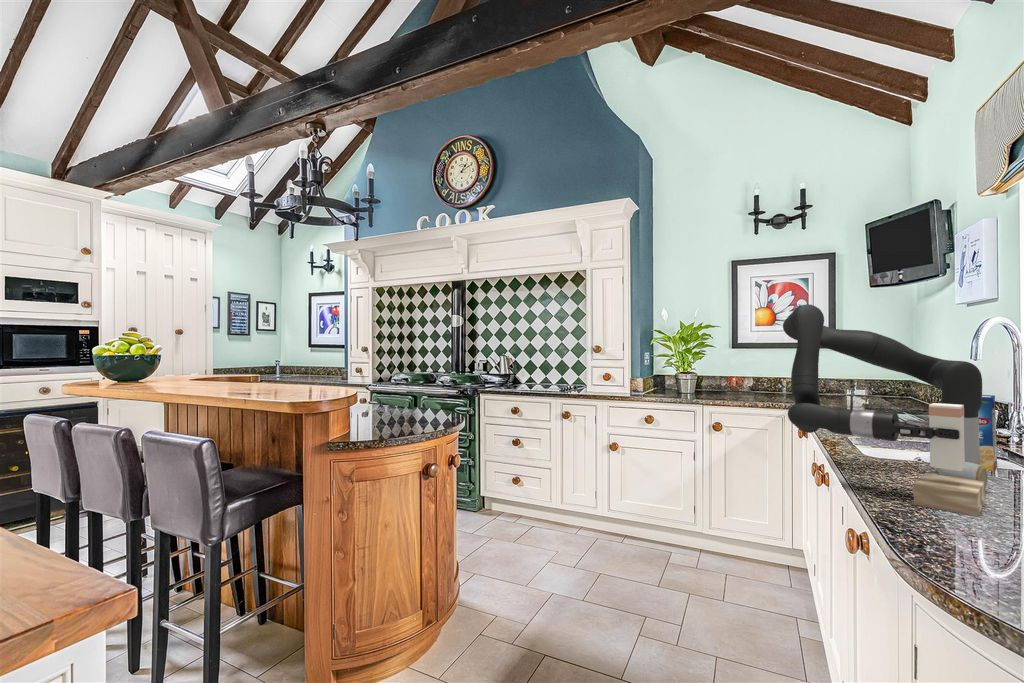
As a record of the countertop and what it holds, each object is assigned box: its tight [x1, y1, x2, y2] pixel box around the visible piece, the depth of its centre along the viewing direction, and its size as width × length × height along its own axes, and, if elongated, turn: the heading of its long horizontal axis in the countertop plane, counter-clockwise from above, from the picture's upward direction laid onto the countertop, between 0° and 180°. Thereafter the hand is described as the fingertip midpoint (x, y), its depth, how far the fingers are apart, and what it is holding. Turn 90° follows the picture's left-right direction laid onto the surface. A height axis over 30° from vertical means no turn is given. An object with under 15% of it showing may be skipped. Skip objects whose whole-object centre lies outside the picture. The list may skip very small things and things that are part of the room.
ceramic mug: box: [938, 462, 989, 489], centre depth 126 cm, size 11×8×8 cm
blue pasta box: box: [978, 394, 998, 472], centre depth 148 cm, size 7×11×22 cm, turn 39°
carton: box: [928, 402, 965, 471], centre depth 115 cm, size 6×6×15 cm
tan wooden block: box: [912, 472, 987, 517], centre depth 114 cm, size 14×11×5 cm
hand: (960, 433), depth 113 cm, fingers closed on carton, 5 cm apart
